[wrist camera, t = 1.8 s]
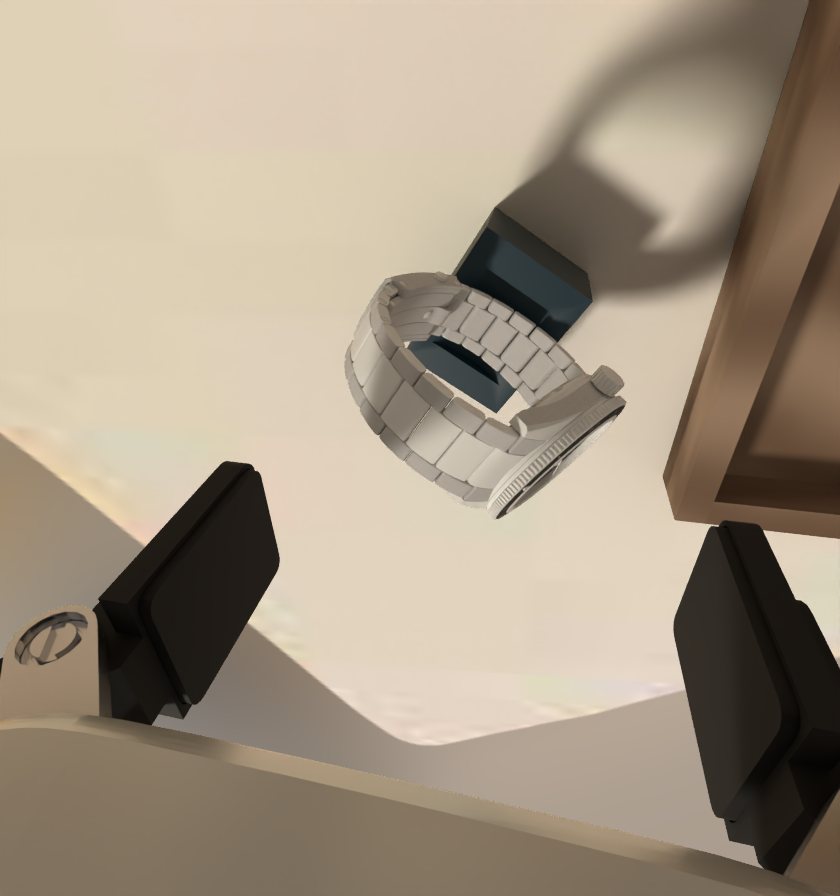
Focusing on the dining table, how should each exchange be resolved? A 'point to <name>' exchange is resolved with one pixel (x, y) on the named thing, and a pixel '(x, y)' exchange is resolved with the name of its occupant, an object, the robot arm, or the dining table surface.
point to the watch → (482, 369)
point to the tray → (776, 326)
